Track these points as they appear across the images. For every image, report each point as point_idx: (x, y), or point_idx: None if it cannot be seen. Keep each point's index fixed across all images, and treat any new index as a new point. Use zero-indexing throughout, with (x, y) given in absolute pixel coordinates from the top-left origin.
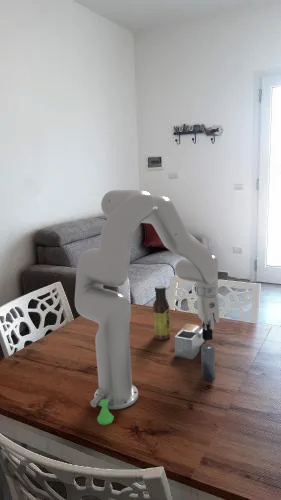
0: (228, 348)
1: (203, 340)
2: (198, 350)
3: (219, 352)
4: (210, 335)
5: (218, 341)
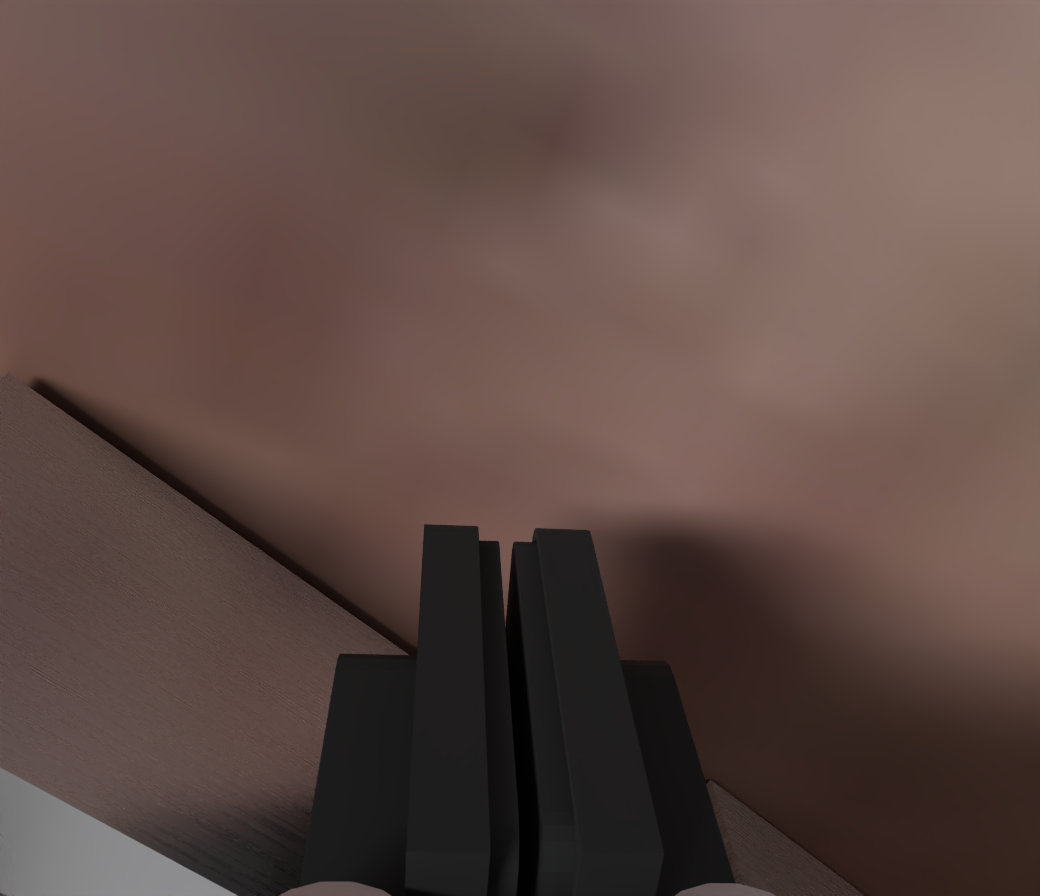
0: (961, 17)
1: (286, 611)
2: (760, 845)
3: (1018, 398)
4: (680, 739)
5: (323, 97)
